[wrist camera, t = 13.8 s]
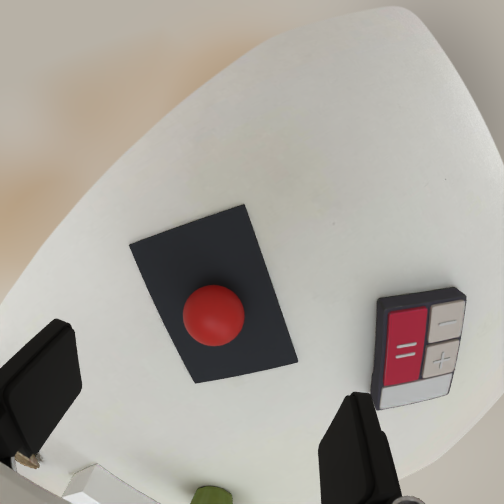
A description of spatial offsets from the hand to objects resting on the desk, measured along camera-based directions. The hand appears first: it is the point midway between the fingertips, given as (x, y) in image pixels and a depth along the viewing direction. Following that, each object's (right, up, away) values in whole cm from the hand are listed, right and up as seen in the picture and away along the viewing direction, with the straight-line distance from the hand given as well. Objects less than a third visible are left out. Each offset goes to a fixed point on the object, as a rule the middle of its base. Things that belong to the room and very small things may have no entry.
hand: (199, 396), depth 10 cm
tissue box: (-28, -54, +45) cm, 76 cm away
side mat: (-2, -2, +27) cm, 27 cm away
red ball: (-2, -2, +23) cm, 24 cm away
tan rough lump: (-57, -46, +45) cm, 86 cm away
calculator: (+22, -7, +27) cm, 36 cm away
